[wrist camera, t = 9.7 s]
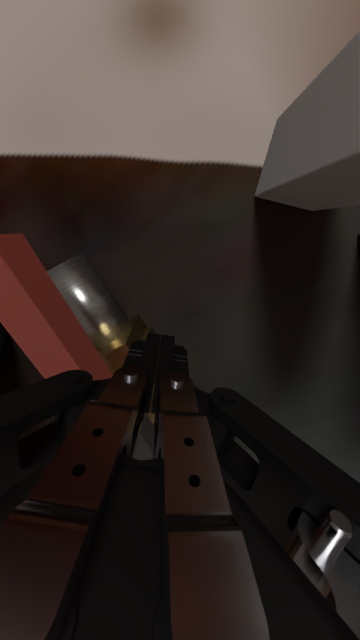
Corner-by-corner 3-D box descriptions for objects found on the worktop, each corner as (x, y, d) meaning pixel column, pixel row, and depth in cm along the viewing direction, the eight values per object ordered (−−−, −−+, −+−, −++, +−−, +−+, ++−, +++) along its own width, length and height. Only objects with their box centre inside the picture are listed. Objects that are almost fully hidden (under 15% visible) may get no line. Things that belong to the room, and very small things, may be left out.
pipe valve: (208, 414, 31) (221, 486, 22) (164, 433, 32) (159, 508, 24) (99, 246, 23) (51, 258, 14) (44, 280, 24) (-31, 310, 15)
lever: (163, 434, 20) (161, 465, 17) (119, 449, 21) (111, 481, 18) (36, 226, 14) (2, 226, 11) (-24, 256, 14) (-69, 262, 12)
